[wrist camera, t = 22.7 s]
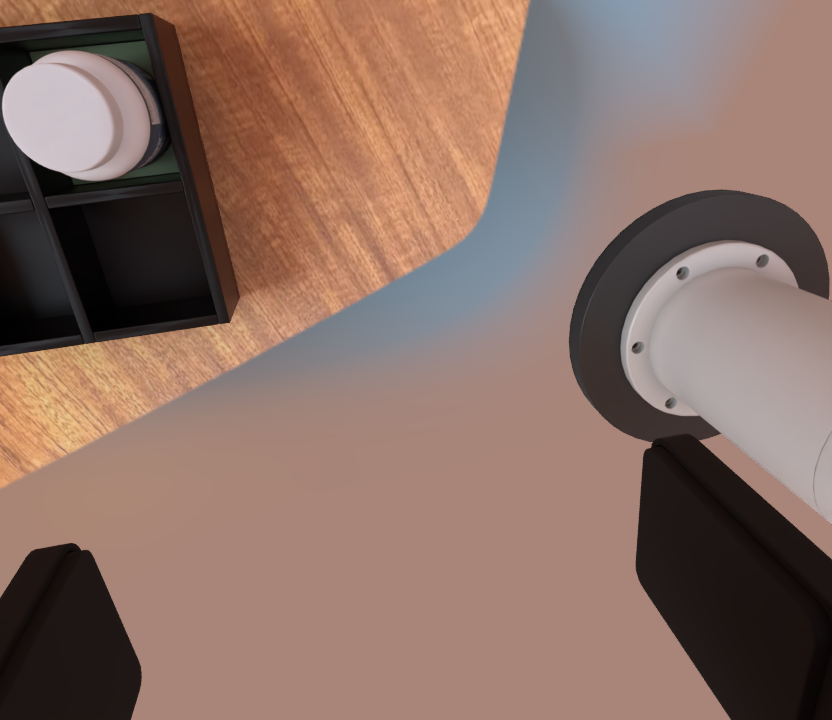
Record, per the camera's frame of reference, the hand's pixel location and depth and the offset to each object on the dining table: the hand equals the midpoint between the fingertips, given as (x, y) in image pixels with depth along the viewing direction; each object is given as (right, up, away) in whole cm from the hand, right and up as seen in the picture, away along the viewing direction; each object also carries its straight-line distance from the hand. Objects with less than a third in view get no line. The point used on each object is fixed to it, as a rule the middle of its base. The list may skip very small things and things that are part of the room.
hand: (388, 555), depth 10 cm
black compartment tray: (-18, +13, +23) cm, 32 cm away
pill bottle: (-15, +16, +21) cm, 30 cm away
